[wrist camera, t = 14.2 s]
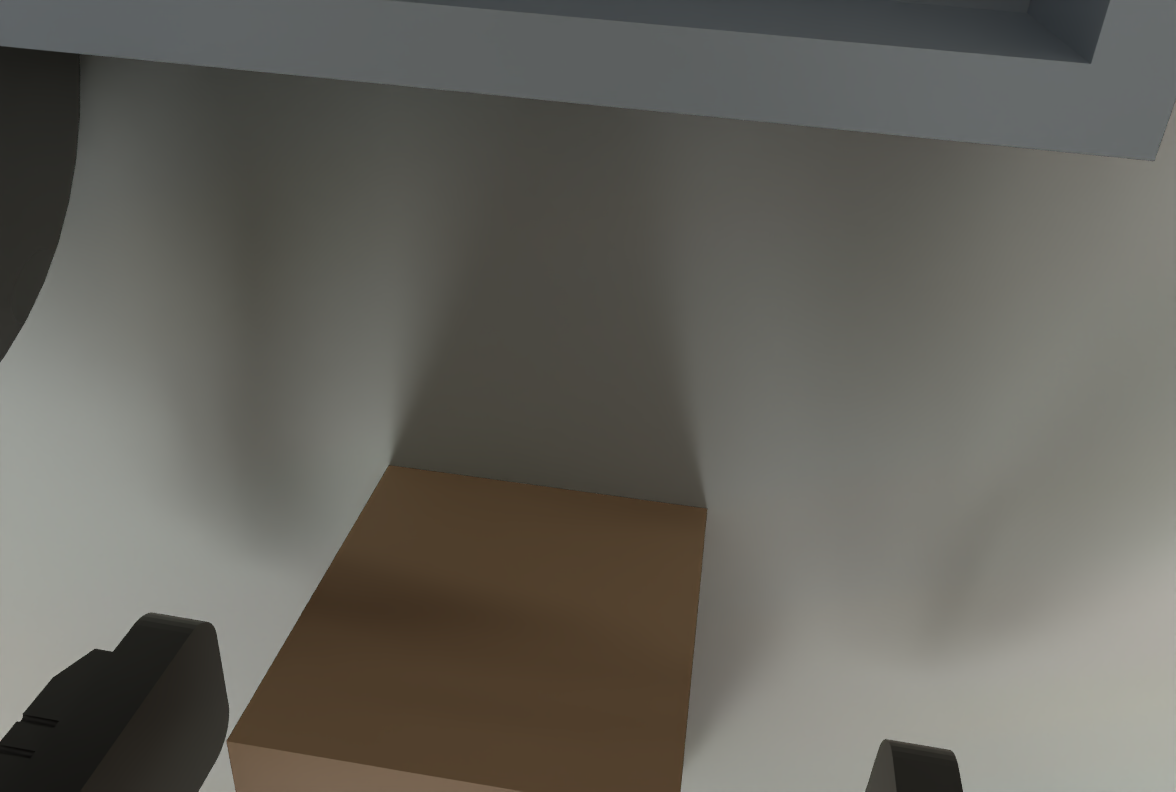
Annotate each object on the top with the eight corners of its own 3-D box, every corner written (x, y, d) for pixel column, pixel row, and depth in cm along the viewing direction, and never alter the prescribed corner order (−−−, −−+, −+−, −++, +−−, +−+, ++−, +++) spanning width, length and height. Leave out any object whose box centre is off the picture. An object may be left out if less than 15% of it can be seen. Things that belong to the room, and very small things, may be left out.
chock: (669, 779, 15) (633, 1117, 11) (406, 735, 15) (283, 1045, 11) (707, 505, 12) (677, 817, 9) (391, 461, 13) (226, 740, 9)
